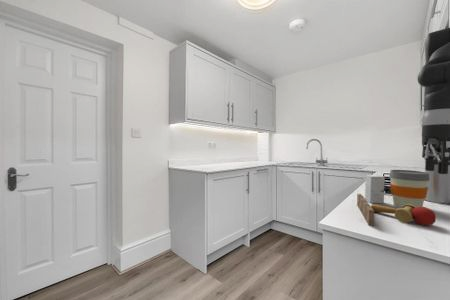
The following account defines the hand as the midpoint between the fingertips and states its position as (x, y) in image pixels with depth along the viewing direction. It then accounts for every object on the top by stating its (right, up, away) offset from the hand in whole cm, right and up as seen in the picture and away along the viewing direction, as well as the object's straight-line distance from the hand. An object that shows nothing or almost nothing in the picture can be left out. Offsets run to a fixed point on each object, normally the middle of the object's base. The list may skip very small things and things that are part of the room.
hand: (435, 172), depth 69 cm
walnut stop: (-18, -17, +9) cm, 26 cm away
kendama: (-8, -18, +5) cm, 20 cm away
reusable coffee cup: (+6, -17, +18) cm, 25 cm away
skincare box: (-2, -17, +25) cm, 30 cm away
